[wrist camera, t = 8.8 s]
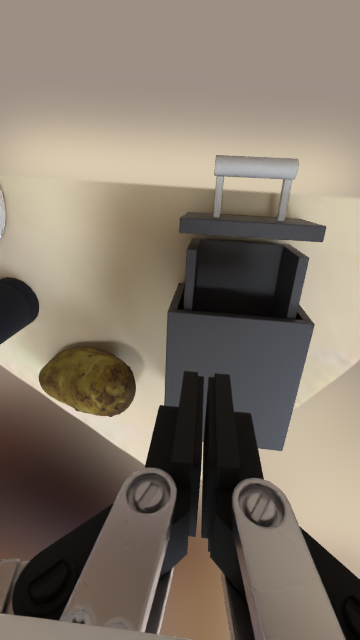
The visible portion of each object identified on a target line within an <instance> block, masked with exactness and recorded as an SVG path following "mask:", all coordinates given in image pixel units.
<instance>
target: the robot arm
mask: <svg viewBox="0 0 360 640" xmlns="http://www.w3.org/2000/svg"><path fill="white" fill-rule="evenodd" d="M5 221H6V210H5V202H4V198H3V194H2V191H1V189H0V238H1V237H2V234H3V231H4V228H5ZM203 395H204V376H198V372H192V371H184V373H183V380H182V387H181V394H180V401H179V407H175V406H163V405H160V406H159V410H158V414H157V418H156V423H155V427H154V431H153V435H152V440H151V444H150V448H149V452H148V457H147V461H146V465H145V468H143V469H140V470H138V471H136V472H134V473H132V474H131V475H130V476H129V477H128V478H127V479H126V480H125V482H124V483H123V485H122V487H121V489H120V492H119V494H118V496H117V498H116V500H115V502H114V503H113V504H112V505H110V506H108V507H107V508H105V509H104V510H102V511H101V512H100V513H98V514H96V515H95V516H93V517H92V518H90V519H89V520H88V521H86V522H85V523H83V524H81V525H80V526H79V527H77V528H76V529H74V530H73V531H71V532H70V533H68V534H67V535H65V536H64V537H62V538H61V539H59V540H58V541H56V542H55V543H53V544H52V545H50V546H49V547H47V548H46V549H44V550H43V551H42V552H40V553H39V554H37V555H36V556H35V557H34V558H33V559H32V560H29V561H22V562H20V560H19V558H13V559H6V560H0V640H194V639H187V638H180V637H173V636H166V635H159V634H160V629H161V625H162V620H163V616H164V612H165V607H166V603H167V598H168V594H169V589H170V585H171V580H172V576H173V570H174V566H175V565H176V564H177V563H178V562H179V561H180V560H181V559H182V558H183V557H184V556H186V555H187V546H188V536H192V537H195V536H196V525H197V512H198V501H199V488H200V476H201V461H202V430H203ZM202 488H203V489H202V530H201V534H202V535H201V537H202V538H208V551H209V552H210V557H211V558H212V560H213V561H214V562H215V563H216V565H217V566H218V567H219V568H220V570H221V576H222V585H223V592H224V598H225V604H226V611H227V617H228V624H229V630H230V637H231V640H360V579H358V578H357V577H356V576H355V575H354V574H353V573H352V572H351V571H349V570H348V569H347V568H346V567H345V566H344V565H343V564H342V563H340V562H339V561H338V560H337V559H336V558H335V557H333V556H332V555H331V554H330V553H329V552H328V551H327V550H326V549H324V548H323V547H322V546H321V545H320V544H319V543H318V542H317V541H316V540H314V539H313V538H312V537H311V536H310V535H309V534H308V533H306V532H305V531H304V530H303V529H302V528H301V527H300V526H299V525H298V522H297V520H296V517H295V515H294V513H293V510H292V508H291V505H290V503H289V501H288V499H287V497H286V496H285V494H284V493H283V492H282V491H281V490H280V489H279V488H278V487H277V486H275V485H274V484H272V483H271V482H269V481H266V480H264V478H263V473H262V468H261V462H260V457H259V452H258V446H257V441H256V436H255V431H254V425H253V420H252V416H251V413H245V412H234V407H233V399H232V390H231V381H230V375H229V374H218V373H215V374H214V377H209V378H208V390H207V402H206V415H205V427H204V443H203V486H202Z"/></svg>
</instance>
